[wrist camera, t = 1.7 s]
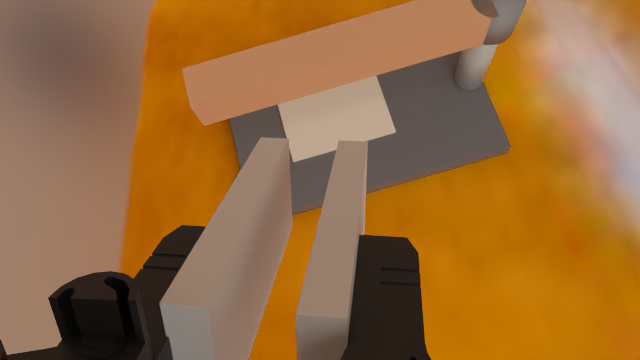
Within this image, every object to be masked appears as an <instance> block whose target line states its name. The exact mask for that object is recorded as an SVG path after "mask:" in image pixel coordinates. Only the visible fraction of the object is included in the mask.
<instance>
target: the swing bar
mask: <svg viewBox="0 0 640 360" xmlns="http://www.w3.org/2000/svg"><path fill="white" fill-rule="evenodd" d="M525 4H526V0H414V1H410V2H407V3H403V4H400V5H397V6H393V7H390V8H386V9H383V10H380V11H376V12H373V13H369V14H366V15H362V16H359V17H356V18H352V19H349V20H345V21H342V22H339V23H335V24H332V25H328V26H325V27H322V28H318V29H315V30H311V31H308V32H305V33H301V34H298V35H294V36H291V37H288V38H284V39H281V40H277V41H274V42H271V43H267V44H264V45H260V46H257V47H254V48H250V49H247V50H243V51H240V52H237V53H233V54H230V55H226V56H223V57H220V58H216V59H213V60H209V61H206V62H203V63H199V64H196V65H192V66H189V67H186V68H182V71H183V76H184V81H185V86H186V91H187V95H188V100H189V105H190V108H191V109H192V110H193V112H194V113H195V114H196V116H197V117H198V118H199V119H200V121H201V122H202V123H203V125H204V126H205V125H209V124H212V123H216V122H219V121H223V120H226V119H229V118H233V117H236V116H240V115H243V114H246V113H250V112H253V111H257V110H260V109H264V108H267V107H270V106H274V105H277V104H281V103H284V102H287V101H291V100H294V99H298V98H301V97H305V96H308V95H311V94H315V93H318V92H322V91H325V90H329V89H332V88H335V87H339V86H342V85H346V84H349V83H352V82H356V81H359V80H363V79H366V78H370V77H373V76H376V75H380V74H383V73H387V72H390V71H393V70H397V69H400V68H404V67H407V66H411V65H414V64H417V63H421V62H424V61H428V60H431V59H435V58H438V57H441V56H445V55H448V54H452V53H455V52H458V51H462V50H465V49H469V48H472V47H476V46H479V45H482V44H483V45H495V44H499V43H502V42H504V41H505V40H507V39H508V38H509V37H510V36H511V34H512V32H513V30H514V28H515V26H516V24H517V21H518V19H519V17H520V15H521V13H522V10H523V8H524V6H525Z"/></svg>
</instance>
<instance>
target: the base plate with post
mask: <svg viewBox="0 0 640 360" xmlns="http://www.w3.org/2000/svg"><path fill="white" fill-rule="evenodd" d="M497 46H498V44H495V45H483V44H482V45H479V46H476V47H472V48H469V49H465V50H462V51H458V52H455V53H452V54H448V55H445V56H441V57H438V58H435V59H431V60H428V61H424V62H421V63H417V64H414V65H411V66H407V67H404V68H400V69H397V70H393V71H390V72H387V73H383V74H380V75H376V76H373V77H370V78H366V79H363V80H359V81H356V82H352V83H349V84H346V85H342V86H339V87H335V88H332V89H329V90H325V91H322V92H318V93H315V94H311V95H308V96H305V97H301V98H298V99H294V100H291V101H287V102H284V103H281V104H277V105H274V106H270V107H267V108H264V109H260V110H257V111H253V112H250V113H246V114H243V115H240V116H236V117H233V118H229V121H230V125H231V129H232V134H233V138H234V142H235V147H236V151H237V155H238V159H239V164H240V168H241V169H242V167H243V166H244V164H245V162H246V161H247V159H248V157H249V156H250V154H251V153H252V151H253V149H254V148H255V146H256V144H257V143H258V141H259V139H260V138H261V137H265V138H289V155H290V178H291V202H292V215H294V214H298V213H301V212H305V211H308V210H312V209H315V208H319V207H322V206H323V202H324V198H325V194H326V190H327V186H328V182H329V178H330V174H331V169H332V165H333V161H334V157H335V153H336V149H337V145H338V141H339V140H340V141H365V142H368V150H367V179H366V194H367V193H370V192H374V191H377V190H381V189H384V188H388V187H391V186H394V185H398V184H401V183H405V182H408V181H412V180H415V179H419V178H422V177H425V176H429V175H432V174H436V173H439V172H443V171H446V170H450V169H453V168H456V167H460V166H463V165H467V164H470V163H474V162H477V161H481V160H484V159H488V158H491V157H494V156H498V155H501V154H505V153H507V151H508V150H509V148H510V147H511V146H510V143H509V141H508V139H507V136H506V134H505V132H504V130H503V127H502V125H501V123H500V120H499V118H498V116H497V113H496V111H495V109H494V106H493V104H492V102H491V99H490V97H489V95H488V92H487V90H486V88H485V85H484V83H483V79H484V77H485V74H486V72H487V69H488V67H489V65H490V62H491V60H492V58H493V55H494V53H495V50H496V48H497Z"/></svg>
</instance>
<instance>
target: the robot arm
mask: <svg viewBox="0 0 640 360" xmlns="http://www.w3.org/2000/svg"><path fill="white" fill-rule="evenodd" d="M367 150H368V142H365V141H340V140H339V141H338V145H337V149H336V153H335V157H334V161H333V165H332V169H331V174H330V178H329V182H328V186H327V190H326V194H325V198H324V202H323V206H322V210H321V214H320V218H319V222H318V226H317V230H316V234H315V238H314V242H313V246H312V250H311V254H310V258H309V262H308V266H307V270H306V274H305V278H304V282H303V286H302V290H301V294H300V298H299V302H298V306H297V310H296V314H295V315H296V338H297V360H431V358H430V357H429V355H428V353H427V350H426V345H425V338H424V325H423V312H422V298H421V288H420V273H419V258H418V252H417V251H416V249H415V248H414V247H413V245H412V244H411V242H410V241H409V240H408V238H404V237H388V236H372V235H364V232H365V207H366V179H367ZM292 226H293V225H292V202H291V178H290V155H289V138H265V137H261V138H260V139H259V141H258V143H257V144H256V146H255V148H254V149H253V151H252V153H251V154H250V156H249V157H248V159H247V161H246V162H245V164H244V166H243V167H242V169H241V170H240V172H239V174H238V175H237V177H236V179H235V180H234V182H233V184H232V185H231V187H230V188H229V190H228V192H227V193H226V195H225V197H224V198H223V200H222V202H221V203H220V205H219V206H218V208H217V210H216V211H215V213H214V215H213V216H212V218H211V220H210V221H209V223H208V224H207V226H206V227H202V226H186V225H182V226H180V227H179V228H177V229H176V230H174V231H173V232H171V233H170V234H168V235H167V236H165V237H164V238H163V239H162V240H161V242H160V243H159V245H158V246H157V247H156V249H155V250H154V251H153V253H152V256H150V257H149V258H148V260H147V261H146V262H145V264H144V265H143V269H140V271H139V272H138V274H137V275H136V276H135V278H134V279H133V278H131V277H130V276H128V275H126V274H124V273H118V272H111V271H110V272H99V273H92V274H89V275H85V276H82V277H79V278H76V279H74V280H72V281H70V282H69V283H67V284H65V285H63V286H61V287H60V288H59V289H58V290H56V291H55V292H54V293H53V294H52V295H51V296H50V297H49V298H48V299H49V301H50V305H51V308H52V311H53V314H54V317H55V320H56V323H57V326H58V329H59V332H60V334H61V338H62V340H61V342H60V343H59V344H58V346H57V347H53V348H48V349H42V350H36V351H29V352H23V353H17V354H11V355H7V354H6V352H5V349H4V347H3V344H2V342H1V340H0V360H248V359H249V356H250V353H251V350H252V347H253V344H254V341H255V338H256V335H257V332H258V329H259V326H260V323H261V320H262V317H263V314H264V311H265V308H266V305H267V302H268V298H269V295H270V292H271V289H272V286H273V283H274V280H275V277H276V274H277V271H278V268H279V265H280V262H281V259H282V256H283V253H284V250H285V247H286V244H287V241H288V238H289V235H290V232H291V229H292Z"/></svg>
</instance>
